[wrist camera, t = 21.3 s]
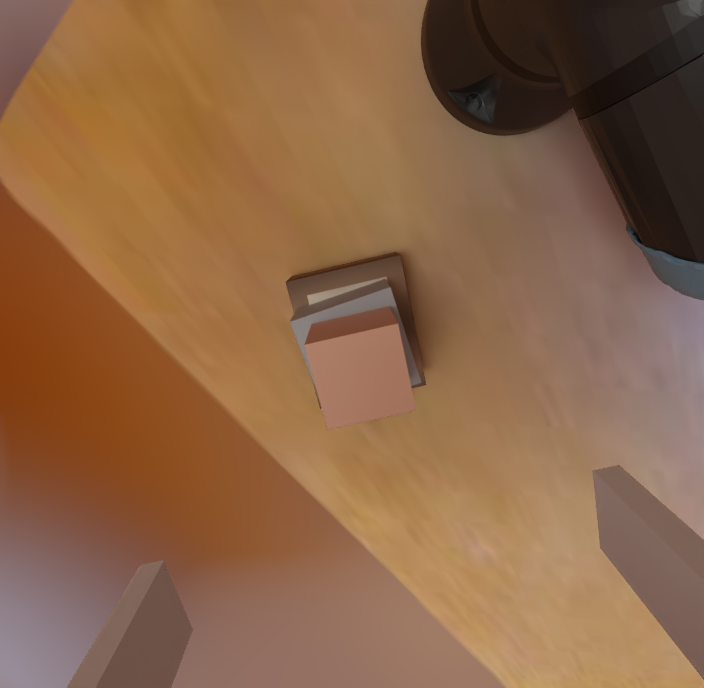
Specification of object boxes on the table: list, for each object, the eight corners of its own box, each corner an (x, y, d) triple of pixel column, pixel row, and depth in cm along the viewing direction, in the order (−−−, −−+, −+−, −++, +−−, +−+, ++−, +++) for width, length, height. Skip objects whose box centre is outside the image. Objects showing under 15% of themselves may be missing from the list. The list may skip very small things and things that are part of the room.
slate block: (296, 309, 38) (289, 322, 33) (384, 278, 38) (390, 287, 33) (328, 391, 40) (326, 413, 35) (412, 363, 40) (421, 382, 35)
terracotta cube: (311, 323, 33) (304, 344, 28) (388, 305, 33) (398, 323, 27) (330, 395, 35) (327, 430, 29) (404, 379, 35) (416, 410, 29)
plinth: (291, 276, 42) (285, 282, 38) (395, 252, 41) (400, 255, 37) (322, 392, 45) (320, 409, 41) (419, 370, 44) (426, 385, 40)
